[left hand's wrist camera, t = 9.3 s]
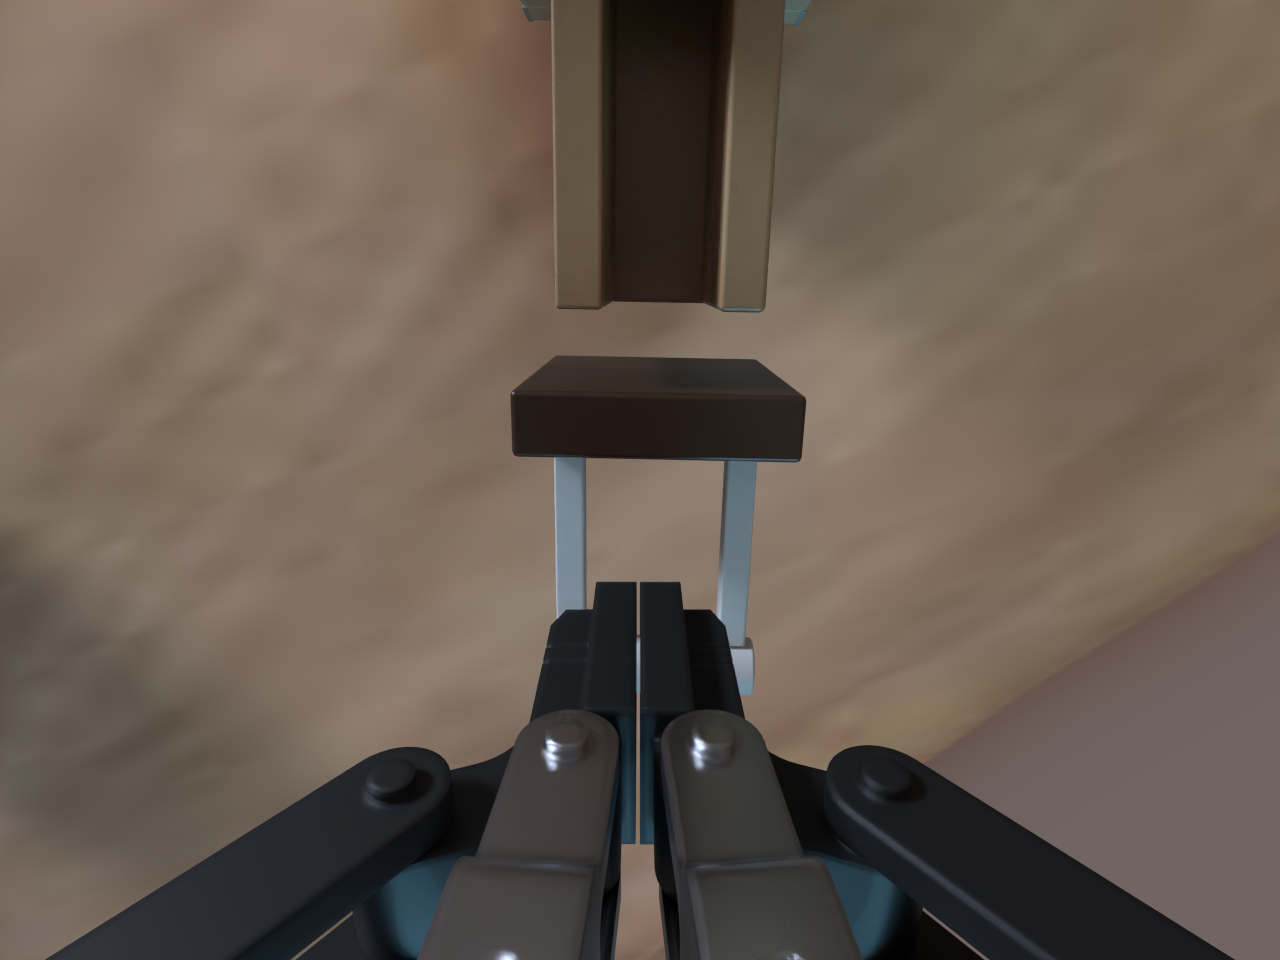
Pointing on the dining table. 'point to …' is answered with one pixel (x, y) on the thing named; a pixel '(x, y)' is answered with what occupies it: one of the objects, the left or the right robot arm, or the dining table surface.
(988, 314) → the dining table surface
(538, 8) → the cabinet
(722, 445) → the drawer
